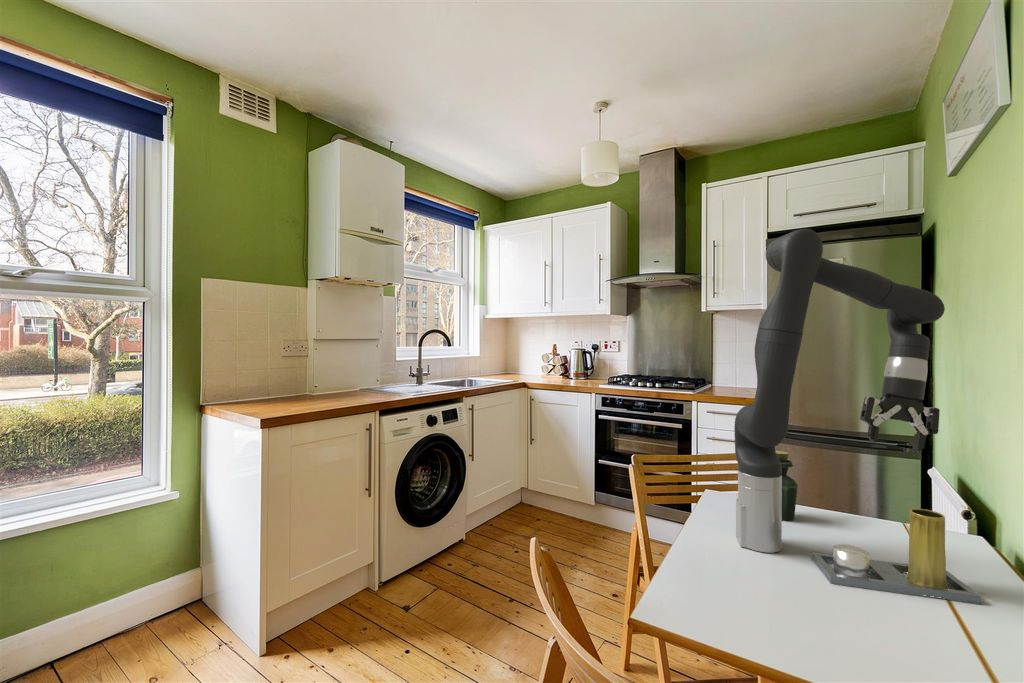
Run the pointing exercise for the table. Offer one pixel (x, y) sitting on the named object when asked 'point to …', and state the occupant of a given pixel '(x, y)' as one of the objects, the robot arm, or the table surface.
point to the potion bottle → (787, 488)
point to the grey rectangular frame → (883, 575)
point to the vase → (927, 549)
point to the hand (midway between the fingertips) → (894, 446)
